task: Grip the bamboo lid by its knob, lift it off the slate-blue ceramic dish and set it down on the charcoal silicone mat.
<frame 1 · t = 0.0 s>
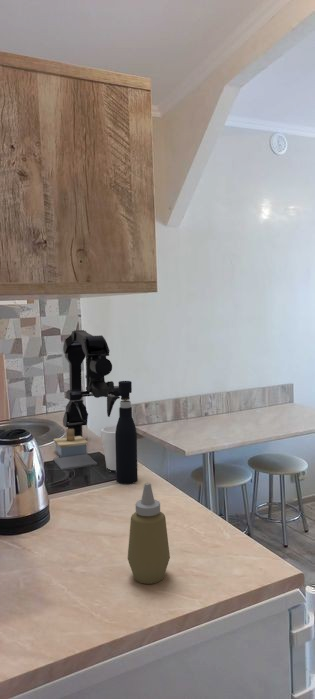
hand: (95, 418, 163), 15 cm above the counter, tool pointing down, fingers open, 9 cm apart
lid: (70, 442, 172), point 4 cm above the counter, touching dish
mat: (74, 462, 162), on the counter
foam cup: (116, 469, 155), on the counter
black bottle: (127, 481, 144), on the counter
dish: (71, 453, 173), on the counter
squeeze bottle: (149, 577, 91), on the counter
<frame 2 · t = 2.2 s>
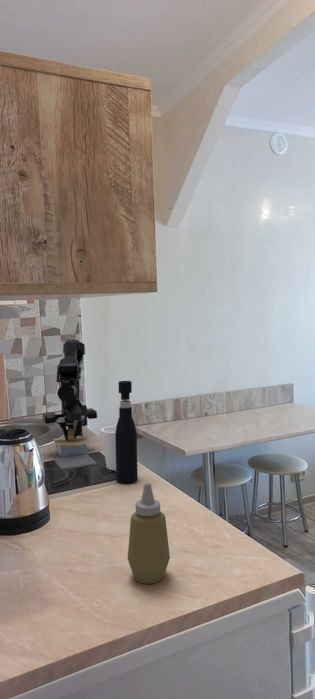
hand: (70, 439, 172), 5 cm above the counter, tool pointing down, fingers closed on lid, 3 cm apart
lid: (70, 442, 173), point 4 cm above the counter, touching dish, gripper
everything else where it was.
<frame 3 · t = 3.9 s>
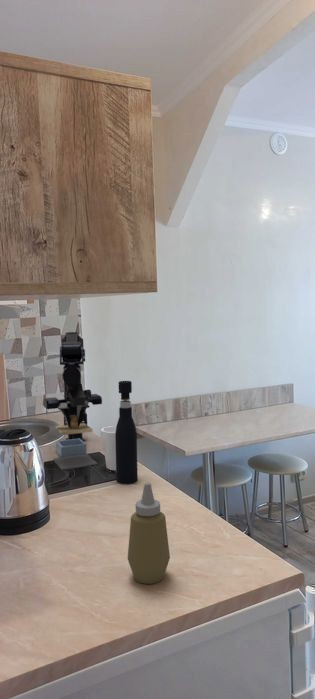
hand: (73, 426, 161), 12 cm above the counter, tool pointing down, fingers closed on lid, 3 cm apart
lid: (73, 430, 161), point 11 cm above the counter, touching gripper
everything else where it was.
when the fingers open (3 cm above the counter, at t = 5.7 s): lid drops 2 cm, resting on mat.
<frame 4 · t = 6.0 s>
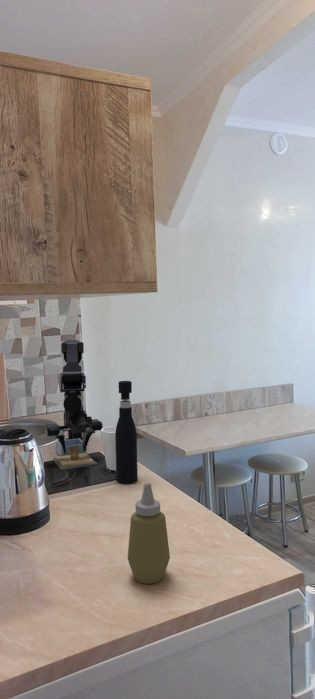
hand: (74, 452, 162), 3 cm above the counter, tool pointing down, fingers open, 6 cm apart
lid: (74, 460, 162), point 1 cm above the counter, touching mat
everything else where it was.
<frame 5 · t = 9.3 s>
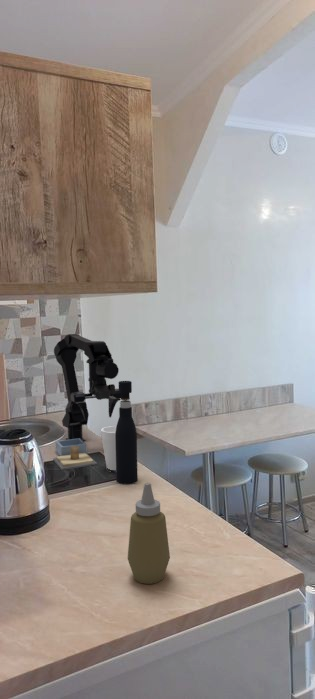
hand: (98, 418, 175), 12 cm above the counter, tool pointing down, fingers open, 9 cm apart
nothing on the counter moved.
at the end: lid inside the target area on the mat (0.0 cm from its centre), point 0.6 cm above the mat's base; lid touching mat; lid tilted 0° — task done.
